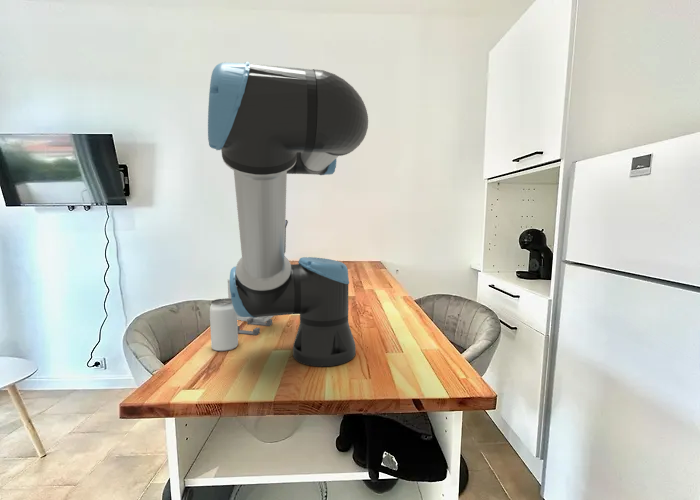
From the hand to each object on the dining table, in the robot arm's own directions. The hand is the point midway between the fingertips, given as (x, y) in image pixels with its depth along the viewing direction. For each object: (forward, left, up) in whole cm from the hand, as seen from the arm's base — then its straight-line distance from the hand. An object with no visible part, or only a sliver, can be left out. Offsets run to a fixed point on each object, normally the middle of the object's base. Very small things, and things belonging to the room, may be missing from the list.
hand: (266, 277), depth 103 cm
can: (-17, +4, -15) cm, 23 cm away
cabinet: (+2, +8, -15) cm, 17 cm away
